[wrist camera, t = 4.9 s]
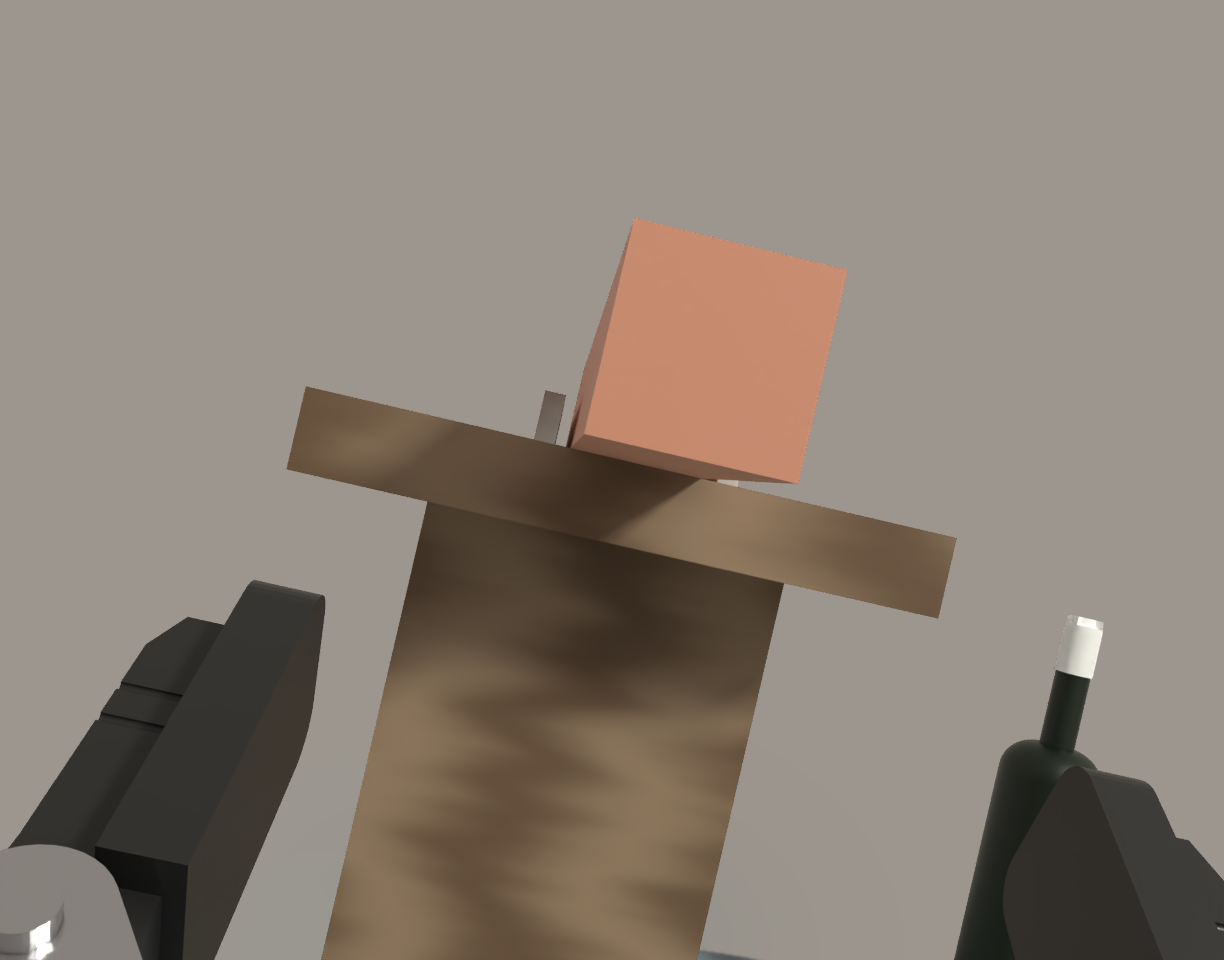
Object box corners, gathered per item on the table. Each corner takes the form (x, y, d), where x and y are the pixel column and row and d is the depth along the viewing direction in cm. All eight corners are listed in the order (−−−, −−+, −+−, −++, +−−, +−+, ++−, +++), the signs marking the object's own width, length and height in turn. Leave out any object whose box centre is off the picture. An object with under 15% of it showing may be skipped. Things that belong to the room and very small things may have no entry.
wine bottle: (995, 1150, 65) (1115, 626, 65) (906, 1095, 69) (1019, 602, 69) (1039, 1126, 69) (1152, 633, 70) (952, 1076, 73) (1059, 610, 74)
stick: (648, 475, 43) (668, 390, 43) (797, 484, 17) (847, 270, 17) (563, 455, 43) (583, 370, 43) (584, 434, 17) (634, 218, 17)
